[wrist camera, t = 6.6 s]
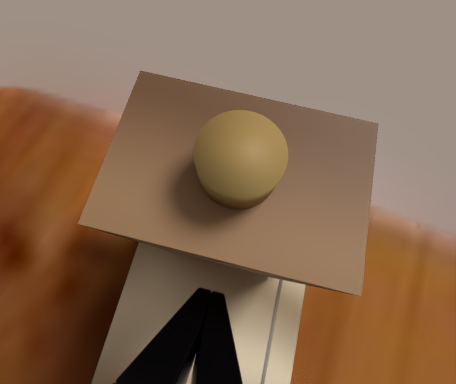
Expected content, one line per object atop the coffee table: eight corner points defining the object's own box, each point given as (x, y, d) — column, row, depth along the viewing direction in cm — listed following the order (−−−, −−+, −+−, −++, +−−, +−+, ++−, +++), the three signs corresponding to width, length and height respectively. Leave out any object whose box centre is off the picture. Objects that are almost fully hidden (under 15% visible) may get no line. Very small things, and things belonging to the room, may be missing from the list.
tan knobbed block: (289, 282, 15) (454, 318, 4) (104, 234, 15) (-160, 162, 5) (300, 214, 16) (455, 108, 5) (127, 172, 16) (-44, 0, 6)
